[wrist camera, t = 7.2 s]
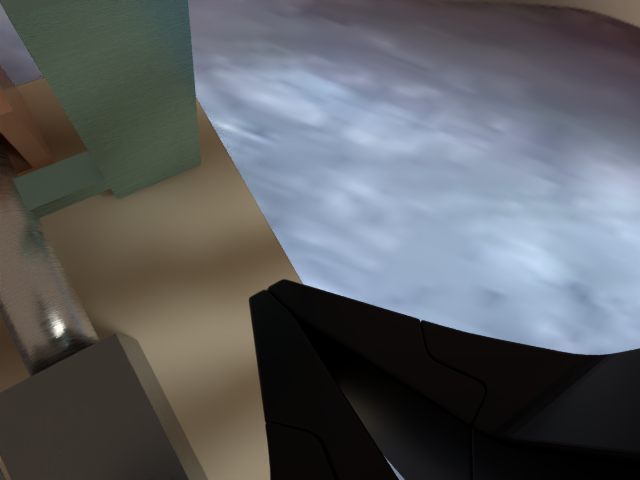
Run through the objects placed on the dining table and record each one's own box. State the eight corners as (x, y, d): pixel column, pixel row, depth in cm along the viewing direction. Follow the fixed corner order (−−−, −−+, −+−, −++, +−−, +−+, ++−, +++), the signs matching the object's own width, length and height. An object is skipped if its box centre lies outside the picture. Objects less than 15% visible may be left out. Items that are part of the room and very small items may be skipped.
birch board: (386, 438, 21) (392, 440, 20) (95, 653, 16) (89, 667, 16) (165, 50, 24) (163, 39, 23) (-133, 146, 19) (-147, 137, 18)
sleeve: (232, 527, 18) (237, 575, 14) (129, 601, 16) (101, 678, 12) (137, 340, 19) (115, 332, 15) (33, 395, 17) (-23, 404, 13)
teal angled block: (284, 313, 20) (357, 257, 10) (77, 433, 17) (-140, 536, 7) (152, 78, 22) (93, -185, 11) (-58, 150, 19) (-397, -116, 8)
